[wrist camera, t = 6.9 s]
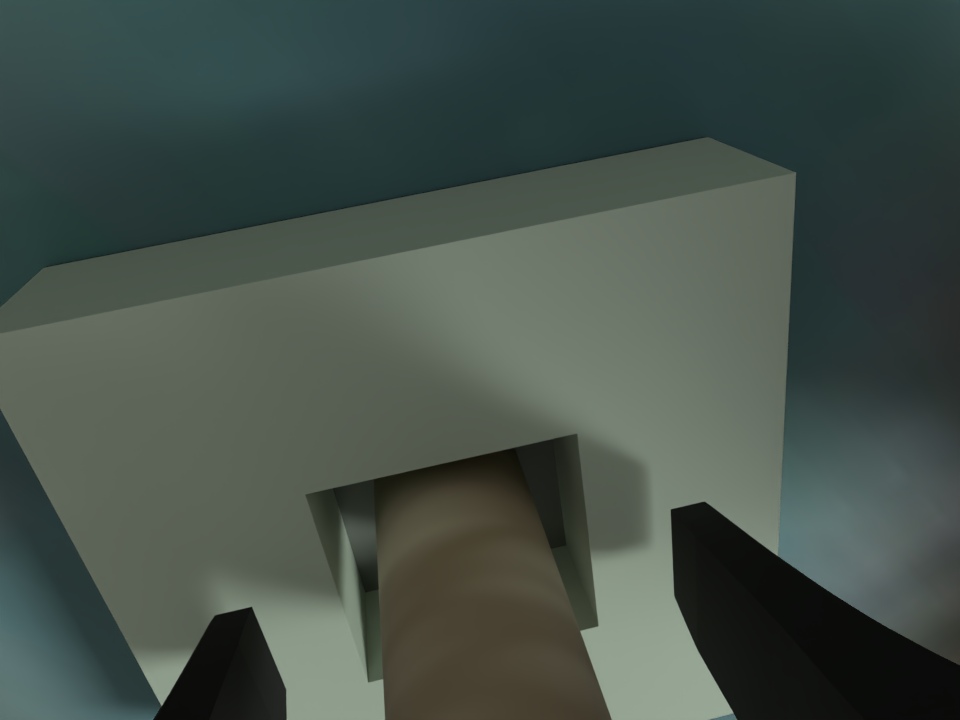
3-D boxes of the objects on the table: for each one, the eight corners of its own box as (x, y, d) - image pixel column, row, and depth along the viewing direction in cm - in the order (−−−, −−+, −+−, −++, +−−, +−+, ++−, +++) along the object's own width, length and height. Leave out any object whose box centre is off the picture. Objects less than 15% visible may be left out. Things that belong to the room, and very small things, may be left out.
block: (707, 137, 14) (796, 173, 11) (711, 605, 19) (770, 703, 16) (43, 267, 13) (-37, 340, 10) (250, 717, 18) (234, 841, 16)
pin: (519, 405, 15) (643, 707, 9) (516, 523, 16) (619, 858, 10) (368, 416, 14) (383, 743, 8) (377, 537, 16) (396, 895, 9)
